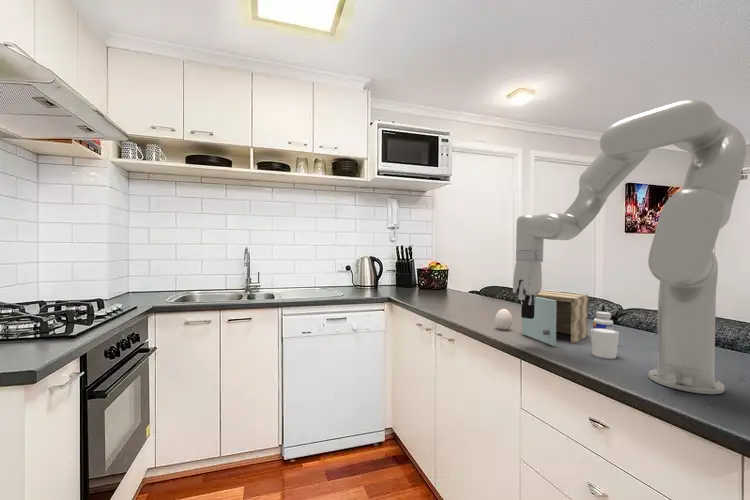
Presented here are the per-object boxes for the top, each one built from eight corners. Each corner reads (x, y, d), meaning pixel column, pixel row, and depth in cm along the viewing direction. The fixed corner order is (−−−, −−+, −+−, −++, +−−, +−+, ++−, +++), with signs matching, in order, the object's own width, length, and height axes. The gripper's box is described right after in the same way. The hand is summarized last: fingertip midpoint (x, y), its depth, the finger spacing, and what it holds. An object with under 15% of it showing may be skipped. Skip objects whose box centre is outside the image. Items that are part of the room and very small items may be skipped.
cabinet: (573, 343, 111) (574, 298, 111) (523, 334, 122) (523, 293, 122) (587, 336, 120) (587, 294, 120) (539, 328, 132) (539, 290, 132)
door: (549, 345, 106) (549, 300, 106) (518, 333, 121) (518, 294, 121) (555, 345, 107) (556, 300, 107) (524, 333, 121) (525, 294, 121)
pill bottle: (588, 341, 114) (589, 311, 114) (601, 340, 115) (601, 310, 115) (604, 346, 108) (604, 314, 108) (617, 344, 110) (617, 313, 110)
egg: (491, 329, 130) (492, 308, 130) (500, 327, 134) (500, 307, 134) (507, 332, 125) (507, 310, 125) (515, 329, 129) (516, 309, 129)
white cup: (624, 357, 97) (625, 332, 97) (607, 360, 94) (608, 334, 94) (600, 350, 103) (601, 326, 103) (584, 353, 101) (584, 328, 101)
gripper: (527, 256, 113) (526, 313, 114) (505, 256, 103) (503, 319, 103) (551, 257, 108) (550, 316, 108) (531, 257, 98) (529, 323, 98)
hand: (527, 317), depth 106 cm, fingers closed
